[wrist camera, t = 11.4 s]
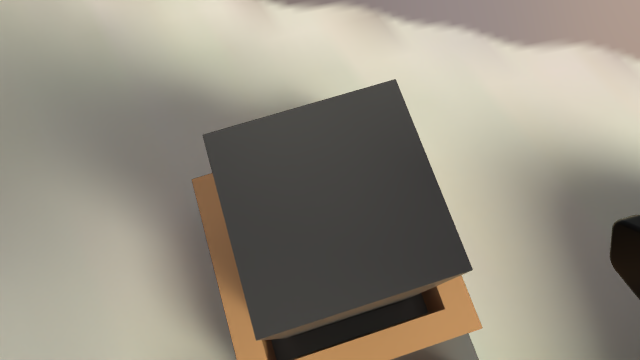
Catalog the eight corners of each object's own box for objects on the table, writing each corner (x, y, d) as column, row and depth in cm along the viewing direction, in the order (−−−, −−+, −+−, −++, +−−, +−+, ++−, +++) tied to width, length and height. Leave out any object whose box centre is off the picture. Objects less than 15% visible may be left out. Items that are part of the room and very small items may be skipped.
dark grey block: (404, 300, 20) (472, 269, 11) (289, 338, 20) (256, 340, 11) (365, 190, 22) (395, 79, 12) (257, 223, 22) (202, 134, 12)
